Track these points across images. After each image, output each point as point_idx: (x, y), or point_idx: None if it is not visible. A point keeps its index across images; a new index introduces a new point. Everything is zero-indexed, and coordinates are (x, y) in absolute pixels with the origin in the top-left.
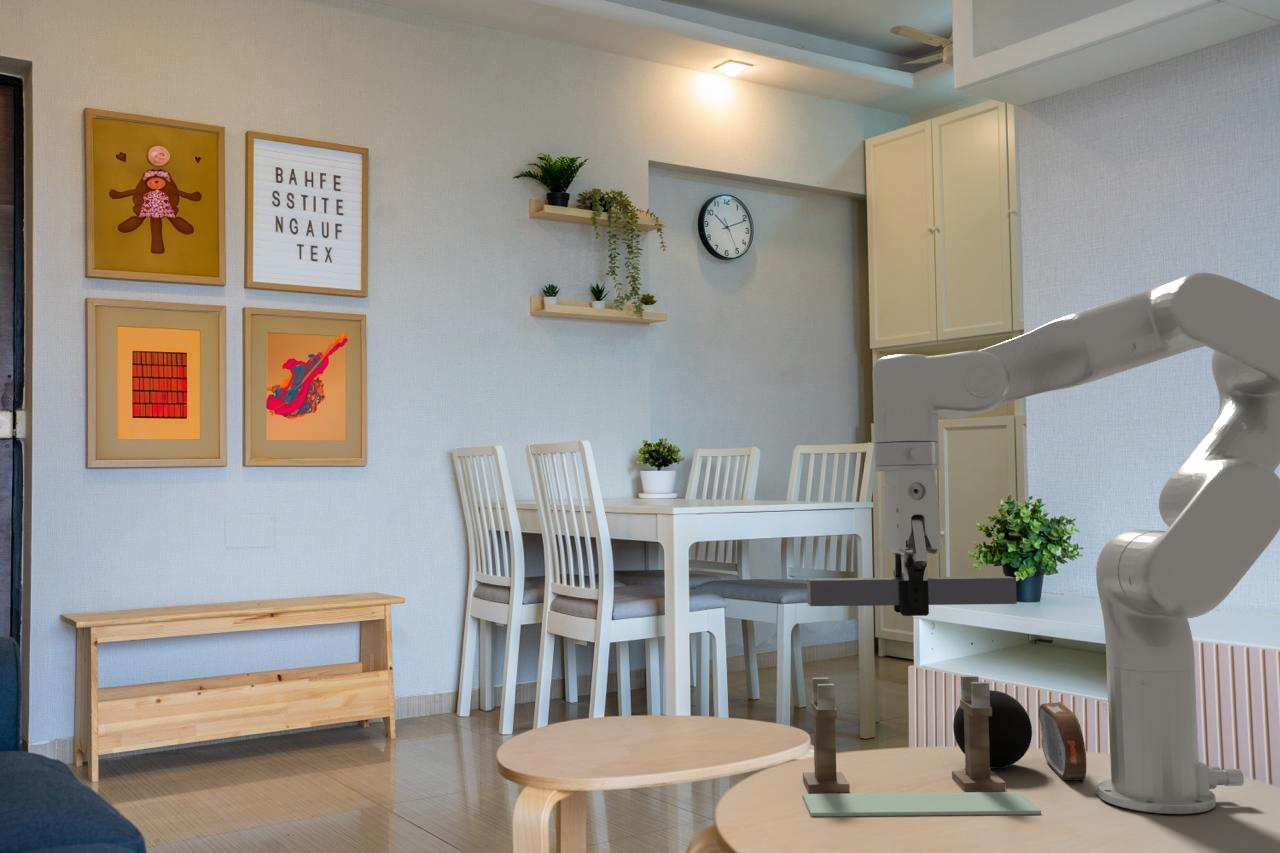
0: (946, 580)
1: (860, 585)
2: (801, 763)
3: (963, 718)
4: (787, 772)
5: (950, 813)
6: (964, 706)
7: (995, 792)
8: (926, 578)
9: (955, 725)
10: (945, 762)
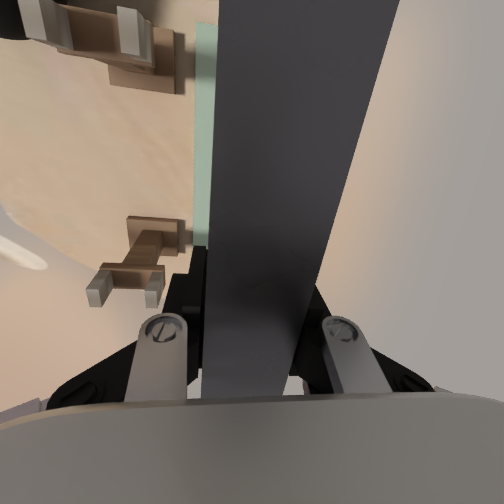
0: (324, 242)
1: None
2: (57, 240)
3: (11, 23)
4: (100, 258)
5: None
6: (96, 58)
7: (198, 60)
8: (355, 327)
9: (2, 36)
10: (10, 53)
